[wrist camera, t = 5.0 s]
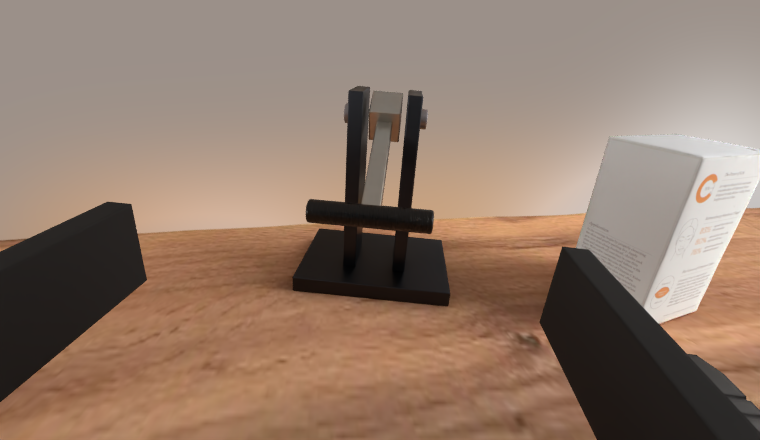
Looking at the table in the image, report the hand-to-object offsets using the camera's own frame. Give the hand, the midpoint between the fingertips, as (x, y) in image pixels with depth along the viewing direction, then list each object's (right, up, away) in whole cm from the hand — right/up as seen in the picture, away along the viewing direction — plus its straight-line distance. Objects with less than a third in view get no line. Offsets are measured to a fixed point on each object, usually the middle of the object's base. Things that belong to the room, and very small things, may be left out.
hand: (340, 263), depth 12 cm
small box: (+22, -5, +19) cm, 30 cm away
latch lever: (+1, +5, +14) cm, 15 cm away
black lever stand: (+1, -3, +21) cm, 21 cm away
